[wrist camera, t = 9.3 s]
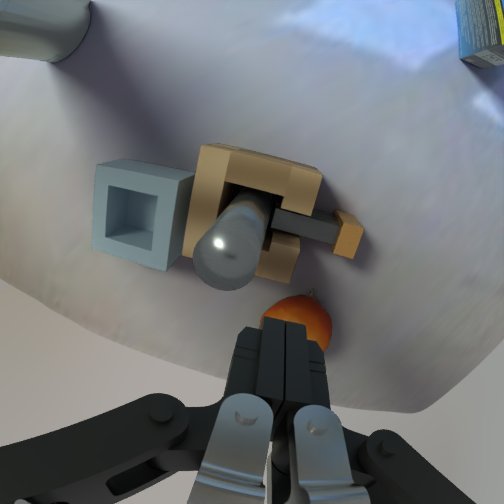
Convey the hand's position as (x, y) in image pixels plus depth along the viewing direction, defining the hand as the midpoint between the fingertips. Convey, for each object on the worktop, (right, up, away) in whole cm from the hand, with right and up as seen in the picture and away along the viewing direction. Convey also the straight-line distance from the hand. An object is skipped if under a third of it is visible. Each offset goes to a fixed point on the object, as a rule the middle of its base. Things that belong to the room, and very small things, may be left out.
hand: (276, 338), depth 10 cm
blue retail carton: (+24, +28, +8) cm, 38 cm away
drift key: (+5, +7, +19) cm, 21 cm away
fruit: (+4, -4, +24) cm, 25 cm away
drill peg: (-1, +8, +20) cm, 21 cm away
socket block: (-1, +8, +20) cm, 21 cm away
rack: (-12, +8, +21) cm, 26 cm away
